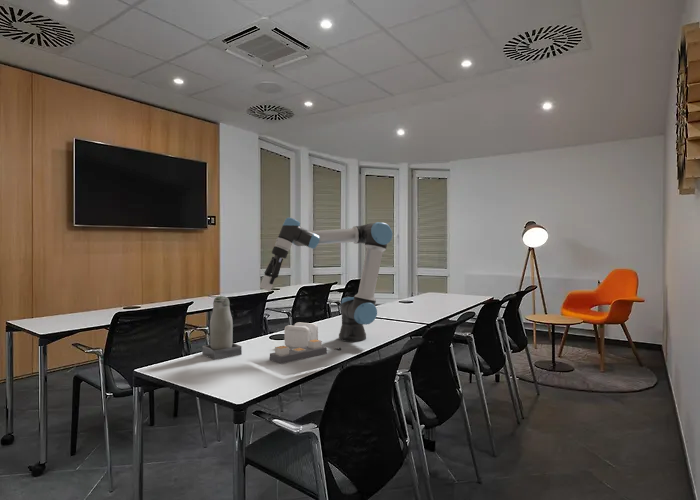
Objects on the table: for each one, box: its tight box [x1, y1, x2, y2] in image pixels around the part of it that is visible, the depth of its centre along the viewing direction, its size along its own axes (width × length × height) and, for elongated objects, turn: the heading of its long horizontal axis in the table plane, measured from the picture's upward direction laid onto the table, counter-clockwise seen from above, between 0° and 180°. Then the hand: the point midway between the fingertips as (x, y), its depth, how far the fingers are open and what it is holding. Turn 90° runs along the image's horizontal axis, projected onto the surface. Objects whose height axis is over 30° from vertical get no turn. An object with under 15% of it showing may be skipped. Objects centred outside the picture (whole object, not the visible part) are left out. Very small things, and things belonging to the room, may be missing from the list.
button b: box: [291, 347, 306, 352], centre depth 195 cm, size 4×4×3 cm
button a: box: [308, 339, 323, 349], centre depth 201 cm, size 4×4×3 cm
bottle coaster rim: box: [201, 342, 243, 361], centre depth 205 cm, size 14×14×4 cm
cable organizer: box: [284, 321, 319, 348], centre depth 217 cm, size 15×11×12 cm
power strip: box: [269, 345, 342, 365], centre depth 199 cm, size 37×9×4 cm, turn 131°
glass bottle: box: [209, 295, 234, 350], centre depth 205 cm, size 10×10×28 cm
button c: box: [274, 345, 290, 356], centre depth 189 cm, size 4×4×3 cm
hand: (264, 289), depth 204 cm, fingers open, 13 cm apart
